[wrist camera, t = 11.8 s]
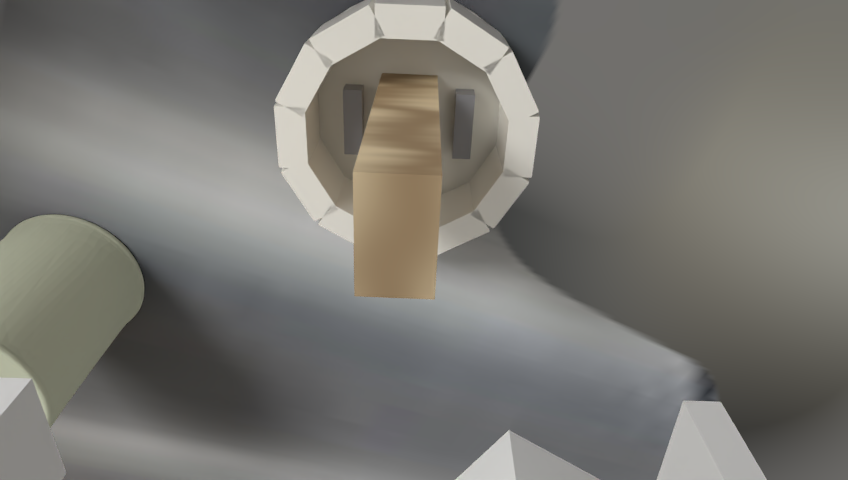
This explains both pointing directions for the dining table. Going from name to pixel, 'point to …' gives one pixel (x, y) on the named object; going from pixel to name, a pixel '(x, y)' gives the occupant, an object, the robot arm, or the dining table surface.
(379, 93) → the wooden block
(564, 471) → the milk
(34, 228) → the can
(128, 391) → the dining table surface
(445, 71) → the white thick ring
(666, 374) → the dining table surface
